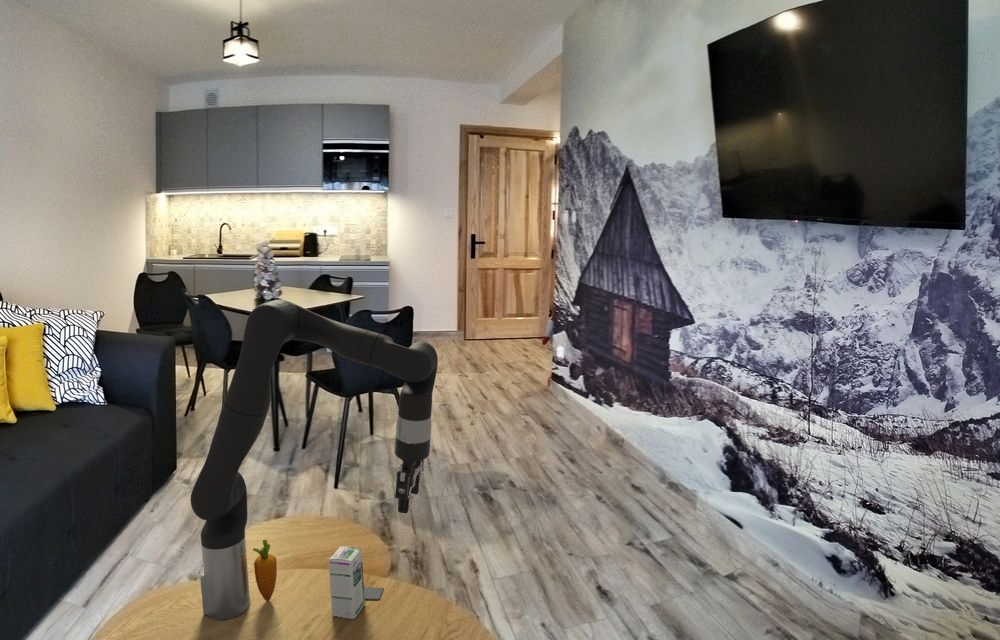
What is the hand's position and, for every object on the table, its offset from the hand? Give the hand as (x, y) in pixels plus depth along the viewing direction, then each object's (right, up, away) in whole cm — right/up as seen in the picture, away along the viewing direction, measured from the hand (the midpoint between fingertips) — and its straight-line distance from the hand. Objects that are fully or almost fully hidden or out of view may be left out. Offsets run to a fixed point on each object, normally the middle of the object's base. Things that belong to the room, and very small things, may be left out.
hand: (408, 502), depth 143 cm
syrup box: (-15, -27, +6) cm, 31 cm away
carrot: (-35, -26, +10) cm, 45 cm away
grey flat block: (-13, -26, +13) cm, 31 cm away
